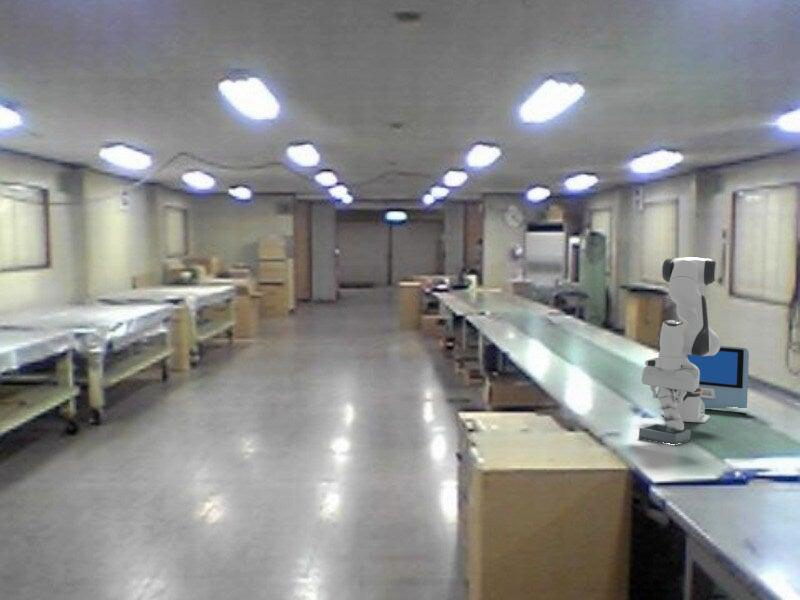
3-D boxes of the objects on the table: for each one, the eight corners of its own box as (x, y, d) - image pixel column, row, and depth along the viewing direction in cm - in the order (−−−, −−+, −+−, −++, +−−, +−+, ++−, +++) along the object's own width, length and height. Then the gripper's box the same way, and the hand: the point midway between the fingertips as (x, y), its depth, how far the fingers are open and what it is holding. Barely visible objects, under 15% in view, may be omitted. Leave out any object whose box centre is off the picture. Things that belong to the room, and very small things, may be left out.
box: (654, 433, 308) (655, 423, 308) (689, 440, 299) (690, 430, 298) (638, 438, 297) (639, 428, 297) (675, 446, 288) (676, 435, 288)
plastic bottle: (671, 433, 300) (656, 381, 303) (688, 430, 296) (673, 377, 299) (664, 435, 295) (650, 383, 298) (682, 432, 291) (667, 379, 294)
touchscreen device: (666, 406, 372) (671, 342, 371) (665, 401, 390) (669, 340, 390) (746, 415, 362) (751, 349, 361) (741, 409, 380) (746, 347, 380)
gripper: (701, 366, 292) (698, 403, 293) (648, 359, 305) (645, 394, 306) (694, 368, 287) (691, 405, 288) (641, 360, 301) (638, 396, 302)
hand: (667, 400), depth 297 cm, fingers open, 8 cm apart
